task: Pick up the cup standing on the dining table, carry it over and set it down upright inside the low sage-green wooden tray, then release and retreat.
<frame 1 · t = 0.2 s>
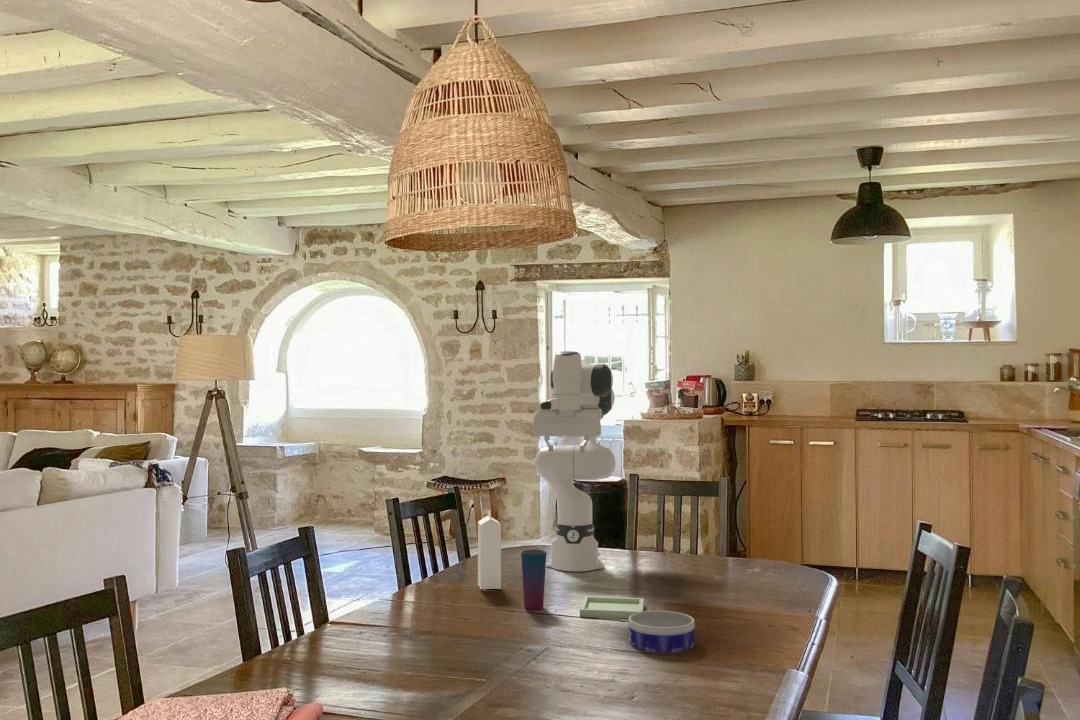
hand: (566, 452, 272), 39 cm above the table, tool pointing down, fingers open, 8 cm apart
dog bowl: (661, 645, 215), on the table
milk: (489, 588, 268), on the table
tray: (612, 610, 243), on the table
cup: (533, 608, 246), on the table
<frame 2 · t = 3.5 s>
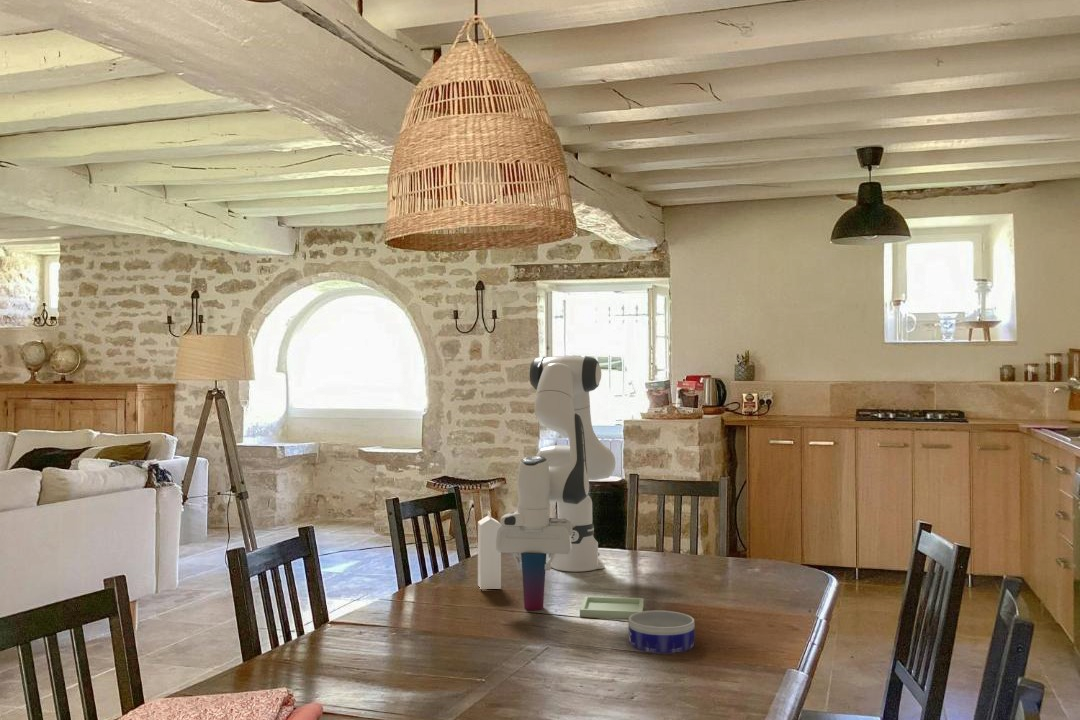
hand: (533, 569, 246), 10 cm above the table, tool pointing down, fingers closed on cup, 6 cm apart
cup: (533, 608, 246), on the table, touching gripper
everything else where it was.
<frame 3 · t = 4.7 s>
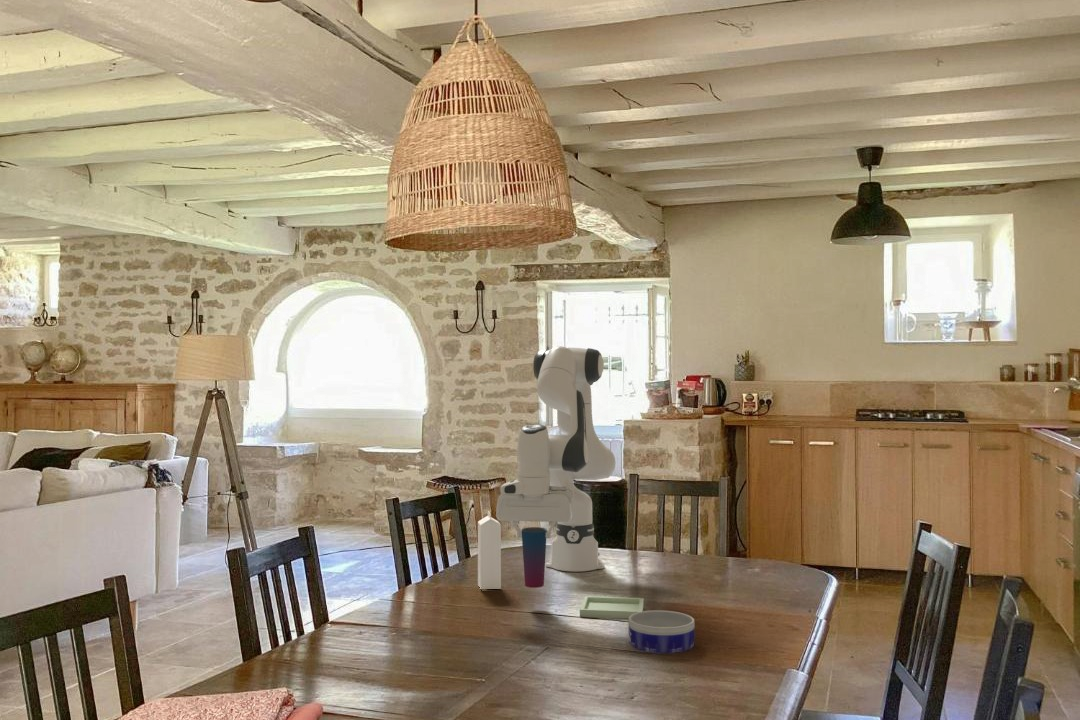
hand: (534, 537, 247), 19 cm above the table, tool pointing down, fingers closed on cup, 6 cm apart
cup: (534, 586, 247), point 6 cm above the table, touching gripper
everything else where it was.
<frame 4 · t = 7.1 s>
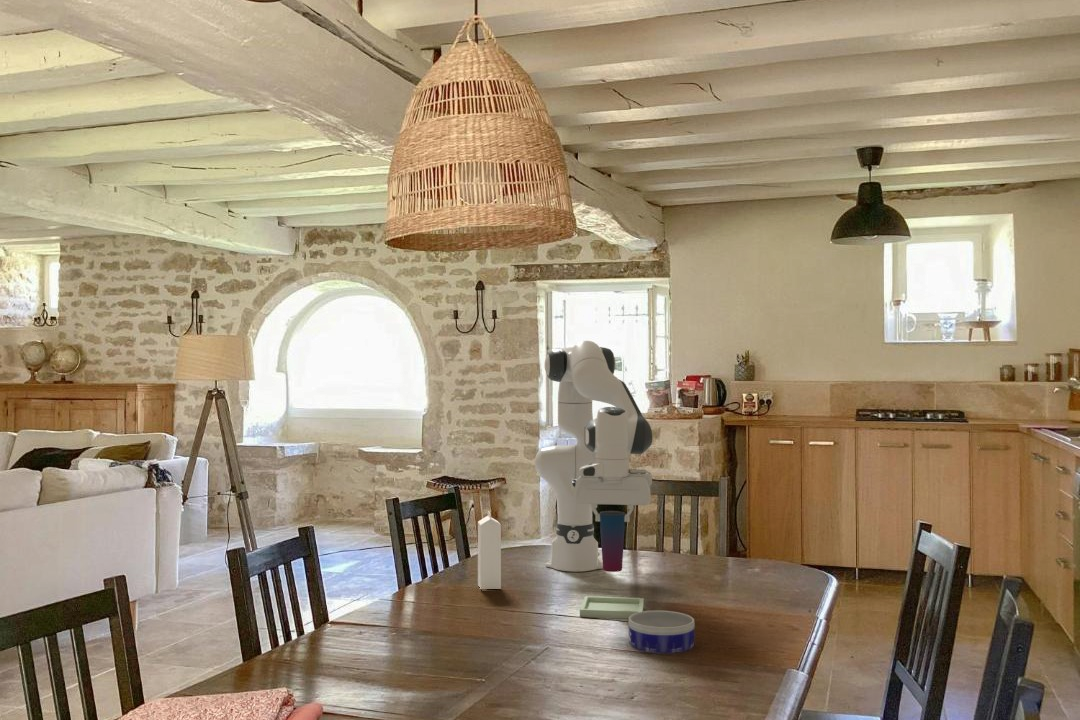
hand: (612, 521, 243), 23 cm above the table, tool pointing down, fingers closed on cup, 6 cm apart
cup: (612, 570, 243), point 11 cm above the table, touching gripper
everything else where it was.
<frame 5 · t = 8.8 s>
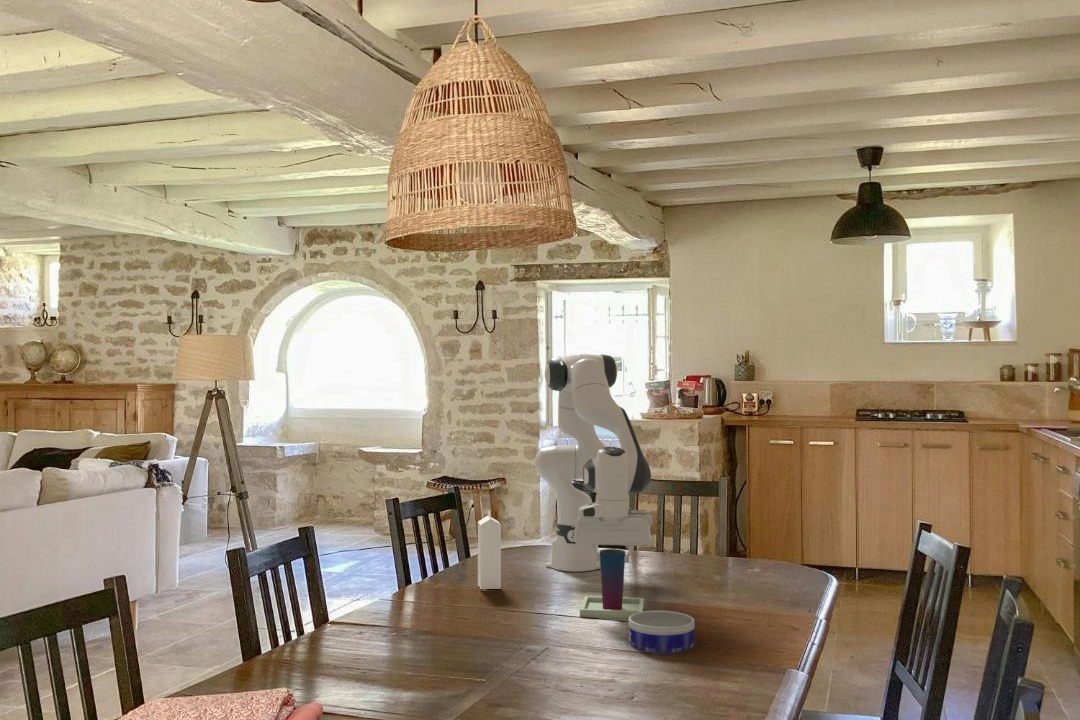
hand: (612, 561, 243), 13 cm above the table, tool pointing down, fingers closed on cup, 6 cm apart
cup: (612, 609, 243), resting on tray, touching gripper
everything else where it was.
when the fingers open (12 cm above the table, at t = 9.5 s): cup stays where it is, resting on tray.
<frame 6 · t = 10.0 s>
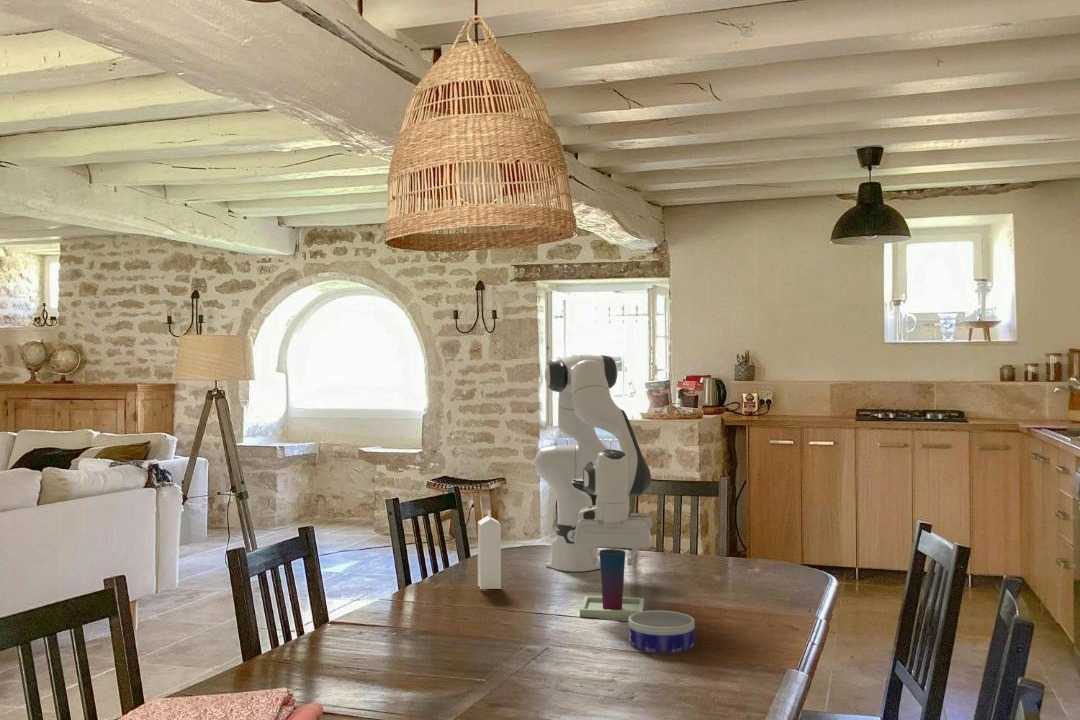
hand: (612, 564, 243), 12 cm above the table, tool pointing down, fingers open, 8 cm apart
cup: (612, 609, 243), resting on tray
everything else where it was.
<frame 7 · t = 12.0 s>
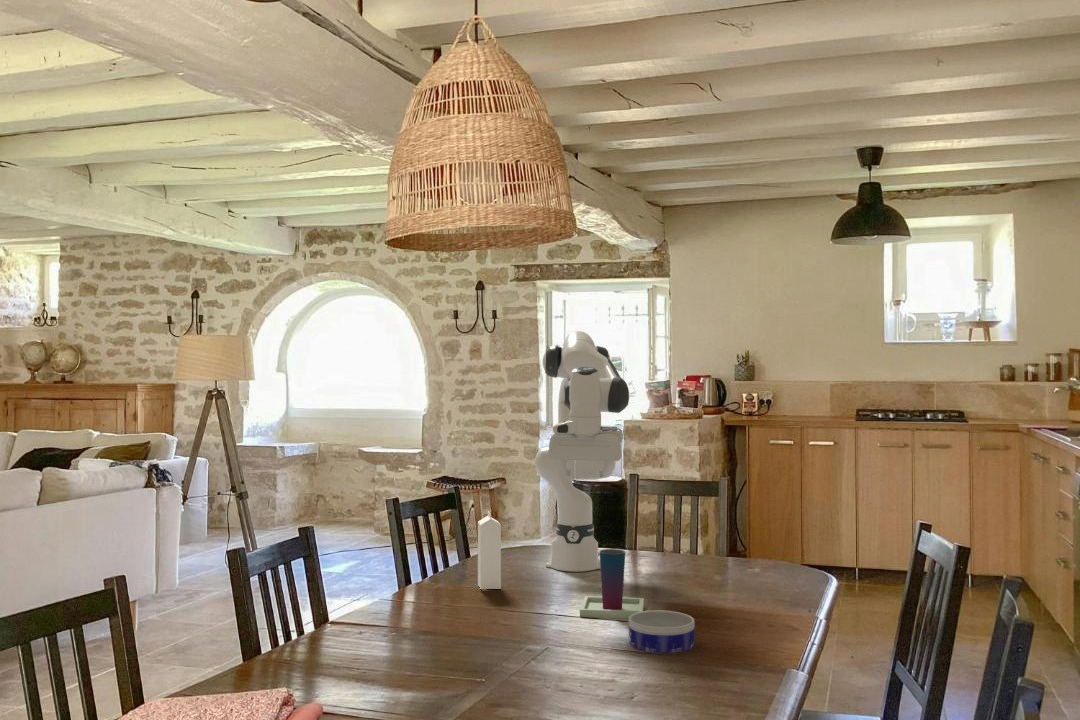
hand: (585, 476, 254), 34 cm above the table, tool pointing down, fingers open, 8 cm apart
nothing on the table moved.
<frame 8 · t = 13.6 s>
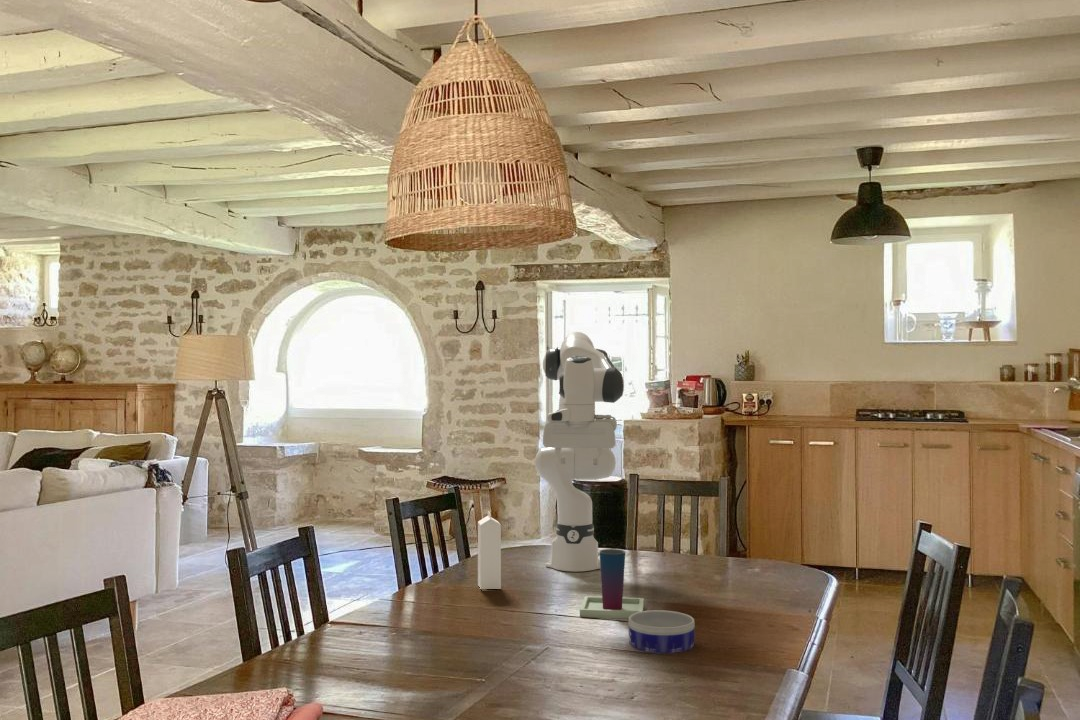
hand: (579, 464, 257), 37 cm above the table, tool pointing down, fingers open, 8 cm apart
nothing on the table moved.
at the end: cup inside the target area on the tray (0.1 cm from its centre), point 0.4 cm above the tray's base; cup tilted 0°; the gripper is holding nothing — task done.
